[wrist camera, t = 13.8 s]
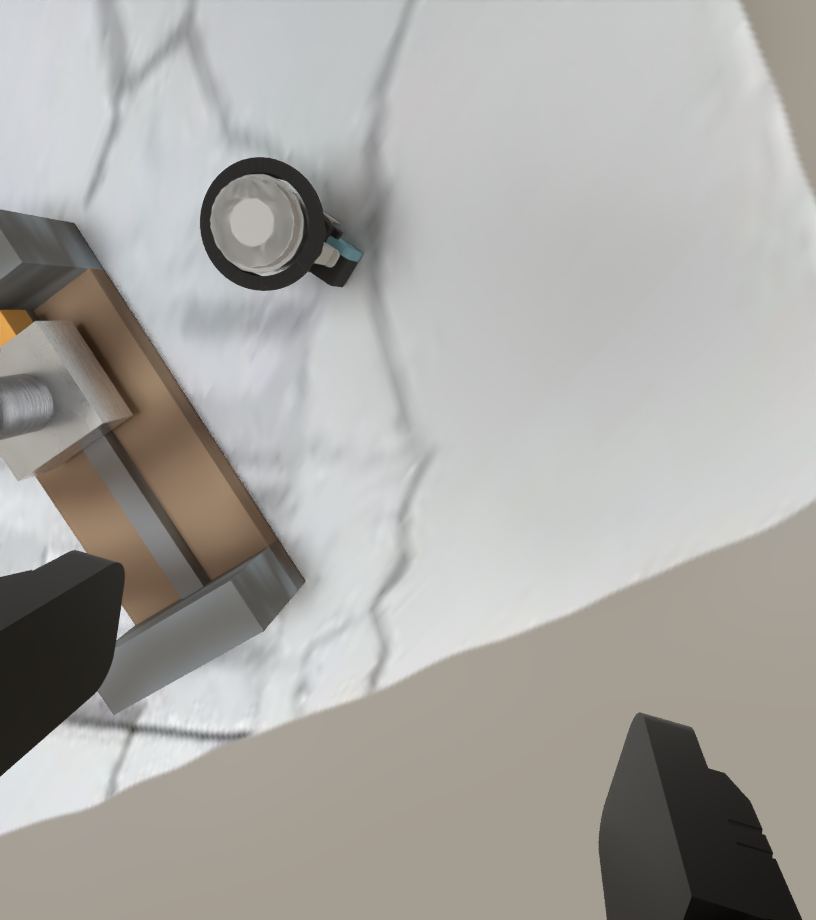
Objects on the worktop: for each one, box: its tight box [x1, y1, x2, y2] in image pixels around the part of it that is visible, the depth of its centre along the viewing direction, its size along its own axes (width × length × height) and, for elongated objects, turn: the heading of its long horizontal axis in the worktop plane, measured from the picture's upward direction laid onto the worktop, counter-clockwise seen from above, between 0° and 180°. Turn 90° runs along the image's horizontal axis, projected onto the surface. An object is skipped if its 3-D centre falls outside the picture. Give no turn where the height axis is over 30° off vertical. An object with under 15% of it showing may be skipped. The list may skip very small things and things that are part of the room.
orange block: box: [0, 310, 33, 347], centre depth 40 cm, size 2×3×2 cm, turn 123°
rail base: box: [0, 210, 305, 715], centre depth 41 cm, size 24×10×7 cm, turn 33°
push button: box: [200, 157, 363, 291], centre depth 35 cm, size 7×5×10 cm
